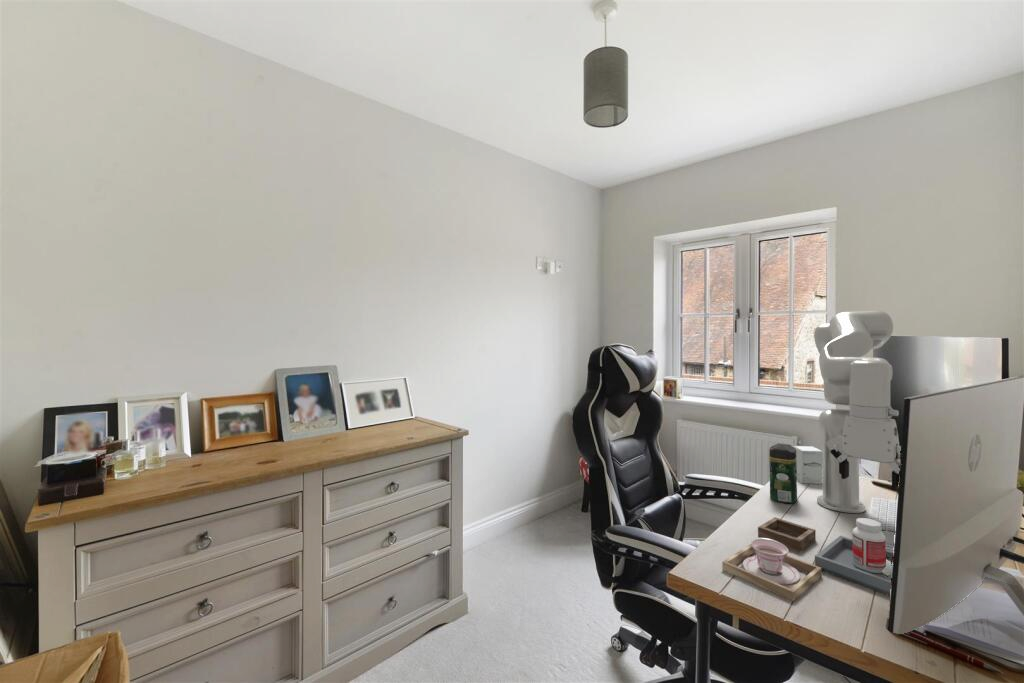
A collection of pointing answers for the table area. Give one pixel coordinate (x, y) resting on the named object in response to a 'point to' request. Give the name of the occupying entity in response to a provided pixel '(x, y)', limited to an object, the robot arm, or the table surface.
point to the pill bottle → (869, 546)
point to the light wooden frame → (767, 584)
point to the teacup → (771, 561)
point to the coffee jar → (783, 473)
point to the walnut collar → (797, 544)
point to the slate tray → (851, 566)
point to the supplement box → (809, 464)
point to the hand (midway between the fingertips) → (869, 483)
